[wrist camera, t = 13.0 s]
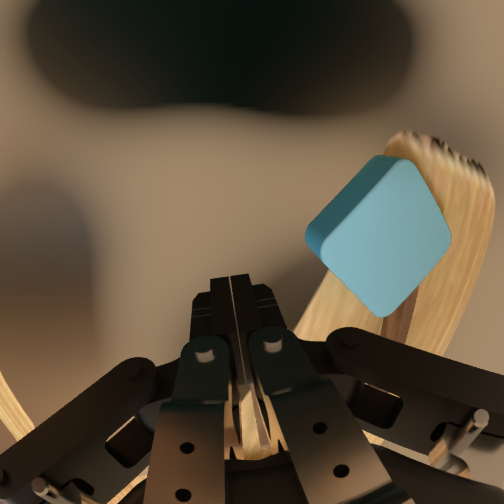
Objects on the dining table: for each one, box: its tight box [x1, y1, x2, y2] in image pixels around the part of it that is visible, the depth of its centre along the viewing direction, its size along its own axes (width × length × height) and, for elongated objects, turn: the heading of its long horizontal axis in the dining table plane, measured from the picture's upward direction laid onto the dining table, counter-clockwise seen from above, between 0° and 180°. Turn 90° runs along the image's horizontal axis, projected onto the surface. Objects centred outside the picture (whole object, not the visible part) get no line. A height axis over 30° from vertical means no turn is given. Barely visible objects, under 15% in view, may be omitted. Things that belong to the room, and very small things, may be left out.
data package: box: [305, 155, 451, 317], centre depth 24 cm, size 12×4×12 cm
